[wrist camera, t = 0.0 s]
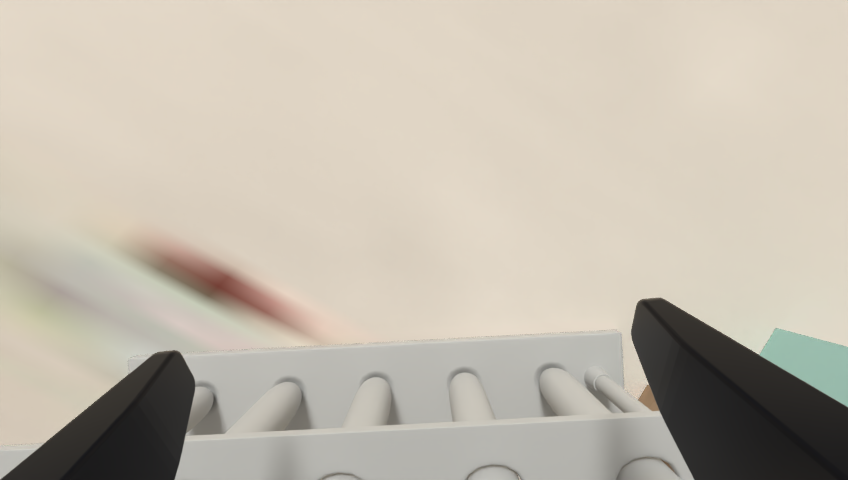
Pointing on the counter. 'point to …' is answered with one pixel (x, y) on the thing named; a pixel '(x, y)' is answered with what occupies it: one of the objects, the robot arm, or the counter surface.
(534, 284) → the counter surface
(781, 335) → the mint green tall box
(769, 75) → the counter surface
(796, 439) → the robot arm
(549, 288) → the counter surface
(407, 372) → the test tube rack
